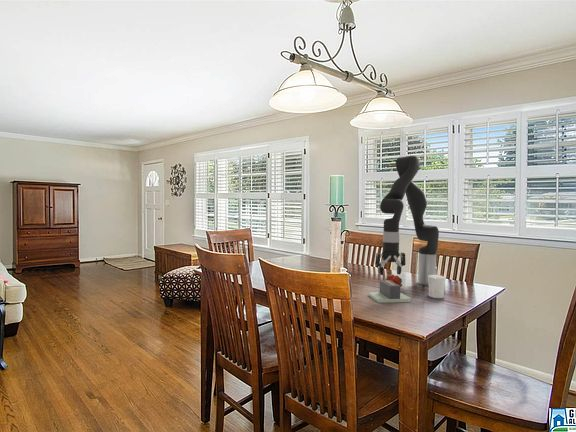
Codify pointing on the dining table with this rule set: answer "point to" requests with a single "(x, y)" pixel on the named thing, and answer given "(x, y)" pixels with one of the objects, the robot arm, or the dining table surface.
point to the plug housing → (390, 289)
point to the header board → (382, 299)
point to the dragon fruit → (395, 279)
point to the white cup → (436, 286)
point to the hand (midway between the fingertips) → (390, 274)
